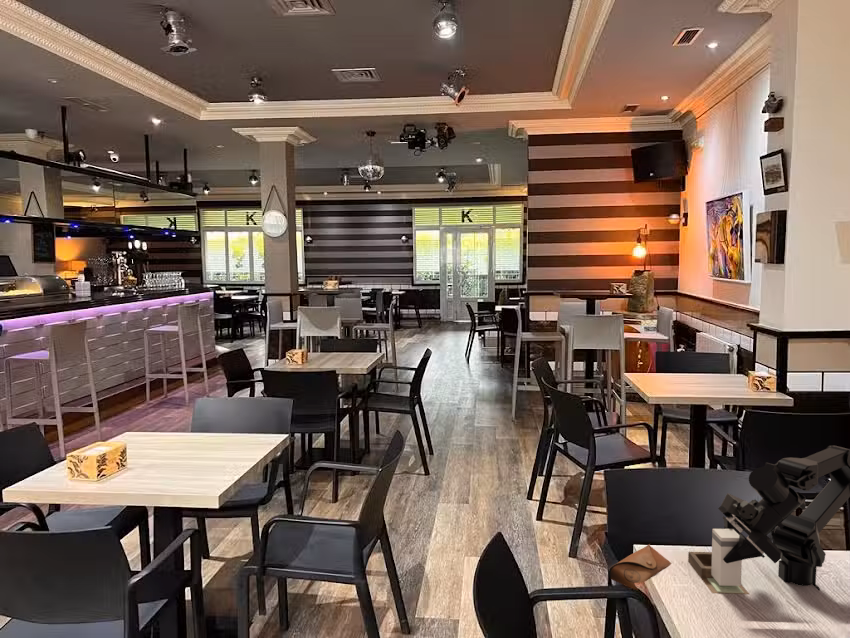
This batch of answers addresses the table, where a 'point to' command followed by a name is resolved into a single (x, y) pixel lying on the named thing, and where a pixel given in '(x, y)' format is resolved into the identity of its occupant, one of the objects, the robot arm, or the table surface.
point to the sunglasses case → (638, 567)
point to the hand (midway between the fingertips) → (720, 556)
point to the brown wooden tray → (705, 568)
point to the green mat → (724, 587)
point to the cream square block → (720, 548)
